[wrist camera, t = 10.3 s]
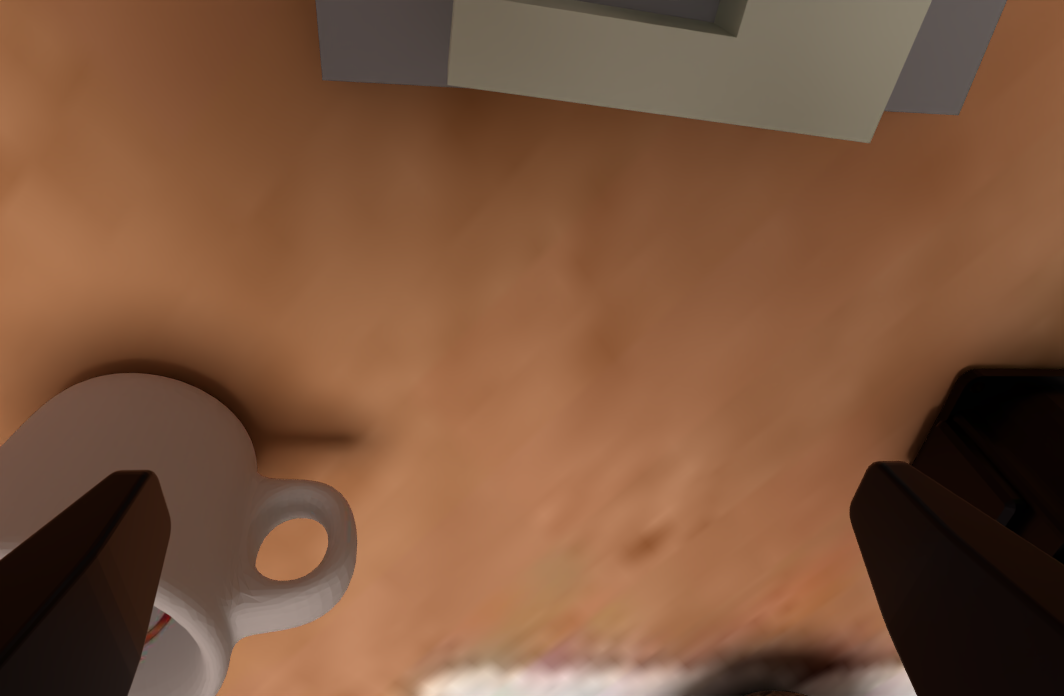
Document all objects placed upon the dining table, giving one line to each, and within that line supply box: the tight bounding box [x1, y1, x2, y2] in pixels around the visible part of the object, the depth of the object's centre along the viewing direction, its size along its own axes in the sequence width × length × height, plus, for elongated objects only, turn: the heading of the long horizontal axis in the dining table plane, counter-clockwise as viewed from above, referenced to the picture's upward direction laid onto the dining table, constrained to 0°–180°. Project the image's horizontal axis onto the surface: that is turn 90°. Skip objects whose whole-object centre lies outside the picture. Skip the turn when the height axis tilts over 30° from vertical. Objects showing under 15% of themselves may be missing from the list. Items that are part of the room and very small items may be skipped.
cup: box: [0, 373, 357, 696], centre depth 20 cm, size 11×8×8 cm
